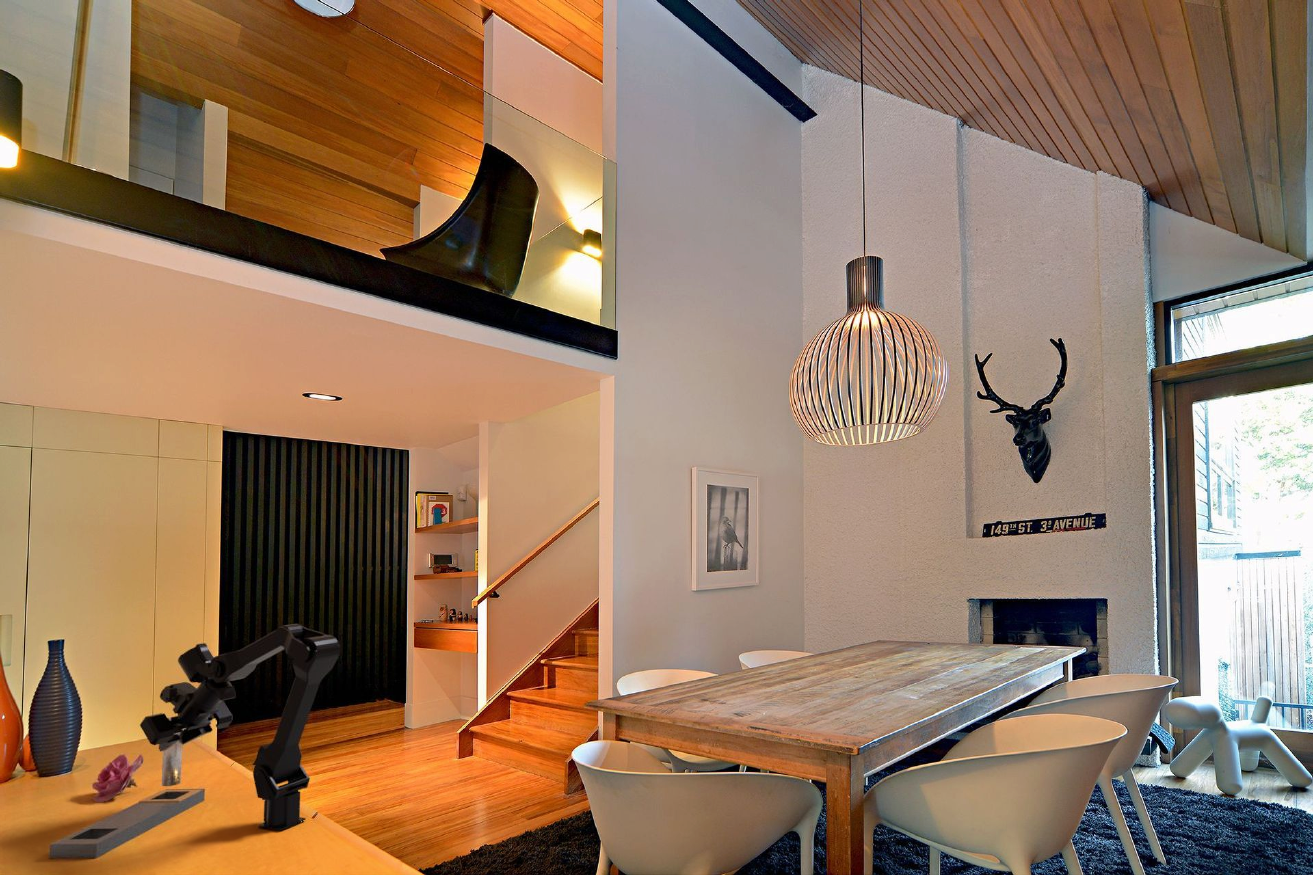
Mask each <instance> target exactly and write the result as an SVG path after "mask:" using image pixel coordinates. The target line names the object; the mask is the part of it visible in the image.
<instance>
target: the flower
mask: <svg viewBox="0 0 1313 875" xmlns="http://www.w3.org/2000/svg"><path fill="white" fill-rule="evenodd" d="M143 763H144V757H143V755H142V753H141V754H139V755H138V757H137V758H136V759H135V760H134V761H133V762H132V763H131V764H130V761H129V759H128V757H127V754H126V753H123V754H119V755H118V756H116V757H115V758H114V759H113V760H112V761H111V762H108V764H107V765H106V766H105V767H103V769H101V771H100V773H99V774H98V776H97V779H96V781H95V782H93V783H92V785H91V787H92V789H94V790H95V791H97V793H96V794H95V795H93V797H92V799H94V800H93V801H95V802H97V803H104V801H105V802H108V801H110V800H112V799H114V797H116V796H117V795H118V794H119V793H120V795H122V794H124V792H125V789H126V788H127V789H128V788H130V789H131V788H132V787H131V786H133V787H137V788H138V785H137V783H136V781H135V779H134V778H132V777H133V776H134V774H135V773H136V771H137V770H138V769H139V768H140V767H142V765H143ZM140 789H142V790H144V788H141V787H140Z"/></svg>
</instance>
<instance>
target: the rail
mask: <svg viewBox="0 0 1313 875" xmlns="http://www.w3.org/2000/svg"><path fill="white" fill-rule="evenodd" d="M205 790H206V789H205V788H166V789H163V790H159V791H157V792H155V793H152V794H151V795H149V796H146V797H145V798H143V799H140V800H139V801H138V802H136V803H134V804H132V805H130V806H128V807H126V808H123V809H122V810H119V811H117V812H116V813H113V814H111V815H108V816H107V817H105V818H103V819H100V820H97V821H96V822H94V823H92V824H90V825H88V826H85V827H84V828H81V829H79V830H78V831H75V832H73V833H70V834H69V835H67V836H65V837H62V838H61V839H58V840H56V841H54V842H52V843H50V844H49V854H48V858H54V859H97V858H100V857H101V856H103V855H104V854H106V853H108V852H111V851H113V850H114V849H116V848H117V847H120V846H122V845H124V844H126V843H127V842H129V841H130V840H133V839H135V838H136V837H139V836H140V835H142V834H143V833H144V834H145V832H148V831H149V830H151V829H153V828H156V827H157V826H158V825H161V824H163V823H165V822H166V821H168V820H170V819H172V818H174V817H175V816H178V815H179V814H182V813H183V812H185V811H187V810H189V809H190V808H193V807H195V806H196V805H198V804H200V803H201V802H202V803H203V802H204V801H205V796H206V795H205V793H206V792H205Z"/></svg>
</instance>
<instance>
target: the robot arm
mask: <svg viewBox="0 0 1313 875" xmlns="http://www.w3.org/2000/svg"><path fill="white" fill-rule="evenodd" d="M282 651H284V652H285V654H286V655H287V656H289V657H291V658H292V667H293V670H294V674H295V677H294V680H293V682H292V683H293V684H292V685H291V688H290V693H289V695H288V698H287V700H286V704H285V707H284V708H283V712H282V714H281V718H280V721H279V724H278V727H277V729H276V732H275V735H274V737H273V739H272V741H271V742H270V743H267V744H263V745H260V747H259V748H258V749H257V753H256V758H255V761H254V762H253V763H252V766H253V771H252V775H253V781H254V785H255V786H254V787H255V791H256V795H257V798H258V799H262V801H264V802H263V803H264V804H263V822H261V823H258V825H257V828H259V829H267V830H271V829H274V830H273V831H278V830H279V831H280V830H281V831H284V830H286V828H287V829H289V828H291V827H293V826H292V825H294V826H296V825H298V824H300V823H299V822H301V821H303V820H305V821H306V817H301V816H300V815H301V814H300V812H301V811H300V810H301V791H300V790H303V789H307V788H308V787H309V783H310V776H309V775H308V773H307V772H306V770H305V769H304V767H303V766H302V764H301V761H302V751H301V749H300V748H301V747H300V741H301V738H302V735H303V732H304V729H305V727H306V724H307V720H308V718H309V715H310V714H311V710H312V706H313V705H314V702H315V698H316V695H317V693H318V691H319V687H320V684H321V681H322V680H323V679H324V678H325V677H326V676H327V675H328V673H329V672H331V671H332V669H333V668H334V666H335V664H336V663H337V660H338V659H339V656H340V654H341V646H340V643H339V641H338V640H337V637H335V636H334V635H331V634H325V633H324V632H320V631H317V630H313V629H311V628H307V627H306V626H304V625H302V624H299V623H293V624H286V625H280V626H279V627H277V628H276V629H275V630H273V631H272V632H269V633H268V634H267V635H265V636H263V637H261V638H260V639H258V640H256V641H254V642H252V643H250V644H248V645H247V646H245V647H243V648H240V649H239V650H234V651H230V652H225V653H222V654H219V655H216V656H214V655H213V654H212V652H211V651H210V649H209V647H208V645H207V643H205V642H201V643H197V644H196V645H195V646H194V647H191V648H190V649H188V650H186V651H185V652H184V653H182V654H180V655H179V657H178V659H177V663H178V665H179V666H180V667H181V668H180V669H181V670H182V671H183V672H184V675H185V676H186V677H187V679H188V681H189V682H187V681H183V682H178V683H172V684H169V685H166V686H165V687H164V688H163V689H162V690H161V692H160V694H159V698H160V700H161V701H163V702H164V703H165V704H169V703H170V704H171V705H172V706H173V708H172V711H173V713H174V714H175V716H170V717H171V718H170V720H171V721H170V720H169V717H167V715H166V713H162V712H160V713H156V714H152V715H147V716H145V717H144V718H143V719H142V720H141V722H140V724H139V726H140V728H141V730H142V731H143V733H144V735H145V736H146V738H147V740H148V742H149V744H150V745H152V746H156V745H158V750H159V752H163V751H164V750H165V749H167V748H168V747H170V746H171V745H173V744H175V743H176V742H178V741H179V740H180V737H179V735H178V734H179V733H181V731H182V730H183V742H182V746H184V745H186V744H188V743H190V742H192V741H193V740H196V739H198V738H200V737H203V736H205V735H206V734H209V733H211V732H213V728H212V726H211V724H212V722H213V720H215V721H216V722H217V723H216V724H215V727H216V729H217V730H219V729H220V730H221V729H224V728H227V727H229V726H230V725H231V723H232V722H233V714H232V712H231V711H230V709H229V708H228V706H227V705H226V703H225V701H226V700H230V699H235V698H236V695H237V694H236V691H235V686H234V685H232V683H231V682H230V681H232V682H233V681H236V680H237V681H238V680H241V679H245V678H246V677H248V676H249V675H250V674H251V673H252V672H254V670H255V669H256V666H257V665H258V664H260V663H262V662H263V661H265V660H267V659H268V658H269V659H270V658H271V657H273V656H274V655H276V654H278V653H280V652H282ZM191 683H193V684H194V683H198V684H199V685H198V686H197V687H195V686H194V685H192V684H191ZM176 714H177V715H176ZM286 782H287V783H286ZM283 783H284V784H283ZM280 784H282V785H280ZM278 785H279V786H278ZM303 822H304V821H303ZM297 823H298V824H297ZM301 823H302V822H301ZM290 826H291V827H290ZM288 827H289V828H288ZM275 829H276V830H275ZM283 829H284V830H283ZM279 831H278V832H279ZM281 831H280V832H281Z"/></svg>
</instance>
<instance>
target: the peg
mask: <svg viewBox="0 0 1313 875" xmlns="http://www.w3.org/2000/svg"><path fill="white" fill-rule="evenodd" d="M171 717H172V716H170V717H168V718H169V720H170V718H171ZM170 721H171V720H170ZM183 730H184V729H183ZM183 730H182V731H181V733H179V734H178V735H179V737H180V740H179V741H178V742H176V743H175V744H173V745H171V746H170V747H168V748H167V749H165V750H164V751H162V766H161V769H162V770H161V787H171V786H176V785H179V784H181V782H182V781H181V779H182V760H183V756H182V755H183V745H182V742H183Z"/></svg>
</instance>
